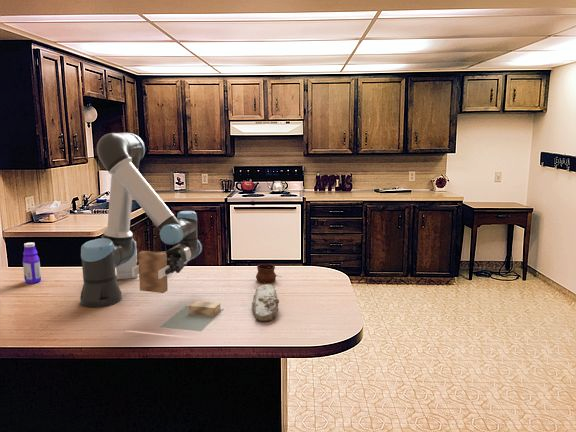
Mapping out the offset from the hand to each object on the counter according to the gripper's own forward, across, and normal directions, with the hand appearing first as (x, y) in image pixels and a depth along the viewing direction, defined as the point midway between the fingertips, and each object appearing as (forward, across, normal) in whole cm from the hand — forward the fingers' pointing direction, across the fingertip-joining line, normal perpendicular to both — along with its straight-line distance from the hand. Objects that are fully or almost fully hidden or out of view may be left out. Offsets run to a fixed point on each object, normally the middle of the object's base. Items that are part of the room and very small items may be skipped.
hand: (146, 273), depth 161 cm
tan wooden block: (-13, -15, -17) cm, 26 cm away
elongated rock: (-27, -34, -18) cm, 47 cm away
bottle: (-31, +74, -20) cm, 82 cm away
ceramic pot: (-55, -26, -18) cm, 63 cm away
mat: (-8, -13, -18) cm, 23 cm away
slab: (-5, 0, -8) cm, 9 cm away
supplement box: (-48, +38, -19) cm, 64 cm away
